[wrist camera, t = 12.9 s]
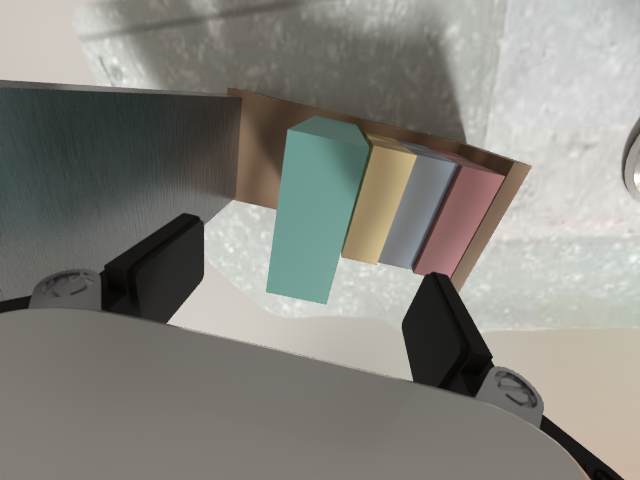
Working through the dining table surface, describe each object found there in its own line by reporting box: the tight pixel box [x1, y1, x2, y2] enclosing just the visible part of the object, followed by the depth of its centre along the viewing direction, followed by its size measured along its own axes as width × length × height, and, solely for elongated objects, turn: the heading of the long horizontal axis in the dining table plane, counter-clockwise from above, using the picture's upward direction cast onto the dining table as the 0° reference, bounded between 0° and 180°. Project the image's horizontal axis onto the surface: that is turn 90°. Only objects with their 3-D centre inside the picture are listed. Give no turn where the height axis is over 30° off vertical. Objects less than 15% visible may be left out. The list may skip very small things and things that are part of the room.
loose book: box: [266, 116, 369, 304], centre depth 21 cm, size 4×10×14 cm, turn 169°
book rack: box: [228, 88, 532, 293], centre depth 25 cm, size 24×11×10 cm, turn 78°
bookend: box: [0, 80, 242, 301], centre depth 18 cm, size 1×10×22 cm, turn 168°
